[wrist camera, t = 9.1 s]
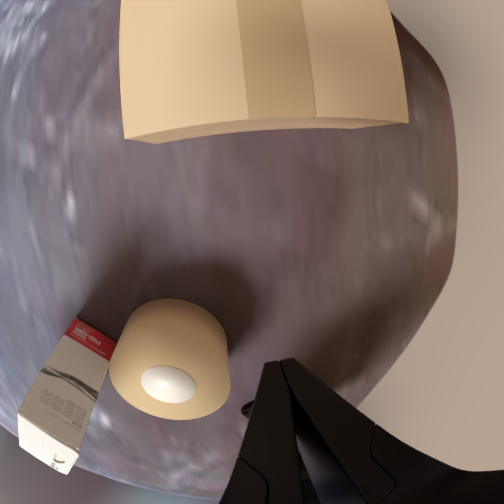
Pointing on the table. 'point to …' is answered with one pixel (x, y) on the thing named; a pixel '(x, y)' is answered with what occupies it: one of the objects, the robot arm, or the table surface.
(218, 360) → the tan squat rounded block
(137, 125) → the carton lid
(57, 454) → the ink box
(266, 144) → the table surface
